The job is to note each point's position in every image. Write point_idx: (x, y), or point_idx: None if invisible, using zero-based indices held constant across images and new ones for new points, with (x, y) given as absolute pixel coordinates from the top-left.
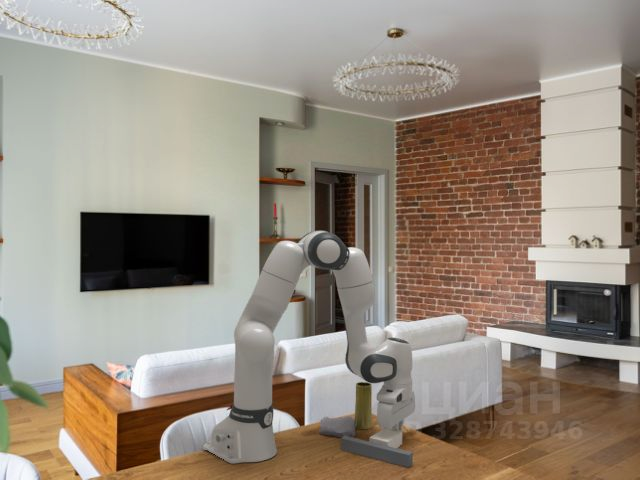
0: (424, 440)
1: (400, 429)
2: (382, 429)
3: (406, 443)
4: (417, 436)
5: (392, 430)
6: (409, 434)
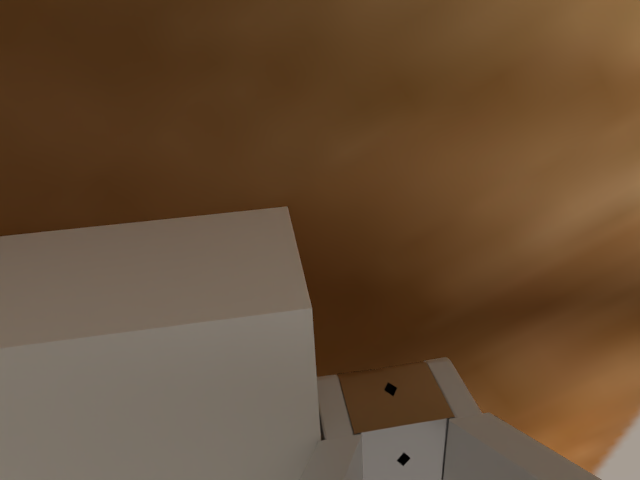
0: None
1: (422, 476)
2: (191, 330)
3: None
4: (591, 392)
5: (283, 455)
6: (616, 317)
